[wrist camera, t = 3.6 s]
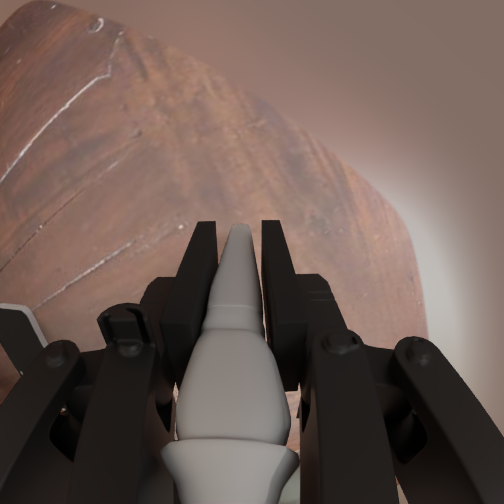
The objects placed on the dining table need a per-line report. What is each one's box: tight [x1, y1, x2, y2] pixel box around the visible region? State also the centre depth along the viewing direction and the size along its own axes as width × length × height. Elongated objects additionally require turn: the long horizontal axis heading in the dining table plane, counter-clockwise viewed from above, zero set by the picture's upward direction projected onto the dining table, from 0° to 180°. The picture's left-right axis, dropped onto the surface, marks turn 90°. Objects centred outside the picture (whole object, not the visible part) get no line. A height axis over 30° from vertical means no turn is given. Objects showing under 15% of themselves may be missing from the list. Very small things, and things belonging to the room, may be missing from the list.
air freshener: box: [278, 462, 300, 504], centre depth 27 cm, size 11×8×10 cm
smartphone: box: [0, 303, 66, 411], centre depth 22 cm, size 8×1×15 cm
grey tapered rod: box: [160, 224, 299, 504], centre depth 9 cm, size 2×3×14 cm
